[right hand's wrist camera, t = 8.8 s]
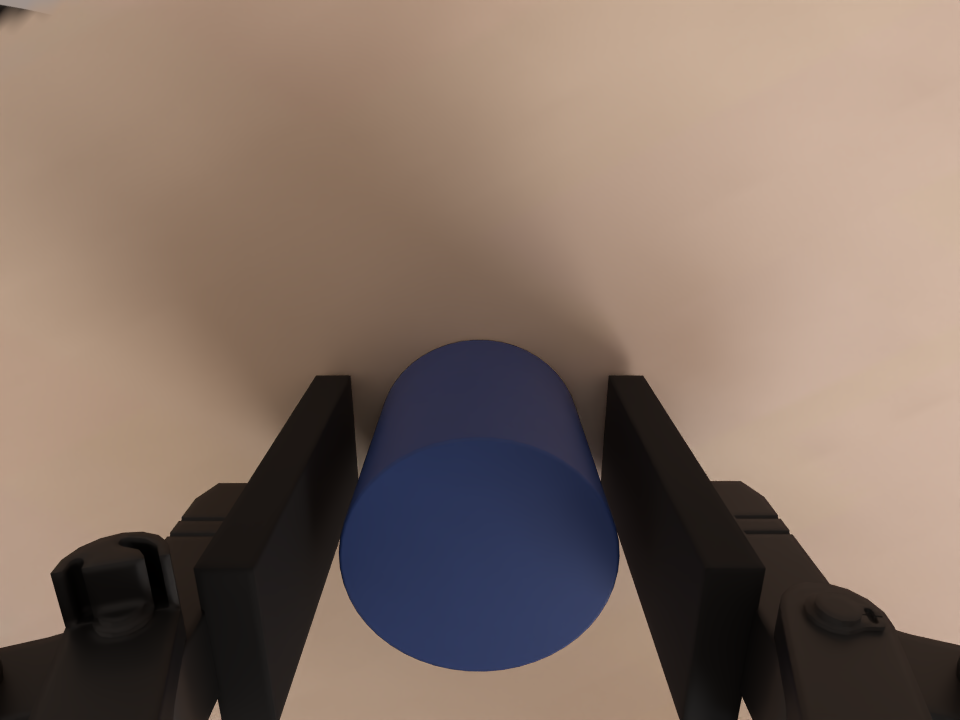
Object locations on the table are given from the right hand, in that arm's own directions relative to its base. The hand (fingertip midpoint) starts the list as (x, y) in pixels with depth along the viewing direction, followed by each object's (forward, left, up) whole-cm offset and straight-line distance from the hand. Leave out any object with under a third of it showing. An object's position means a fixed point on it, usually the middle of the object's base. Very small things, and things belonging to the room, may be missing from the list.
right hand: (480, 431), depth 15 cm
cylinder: (0, 0, 0) cm, 0 cm away
